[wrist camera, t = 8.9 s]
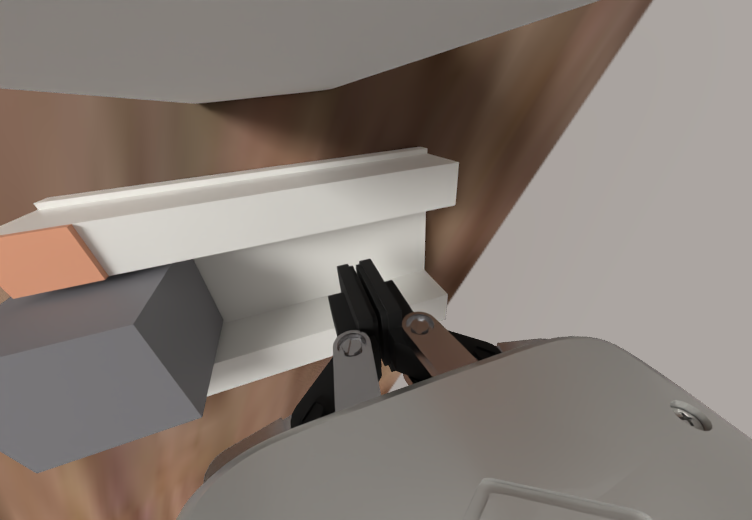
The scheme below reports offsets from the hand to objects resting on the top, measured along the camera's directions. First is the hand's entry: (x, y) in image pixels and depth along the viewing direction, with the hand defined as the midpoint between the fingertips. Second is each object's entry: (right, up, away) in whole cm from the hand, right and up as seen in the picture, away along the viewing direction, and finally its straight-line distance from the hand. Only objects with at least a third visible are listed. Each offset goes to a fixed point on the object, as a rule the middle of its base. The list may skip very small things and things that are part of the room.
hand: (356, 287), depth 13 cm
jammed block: (-12, -1, +2) cm, 13 cm away
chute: (-5, +1, +5) cm, 8 cm away
